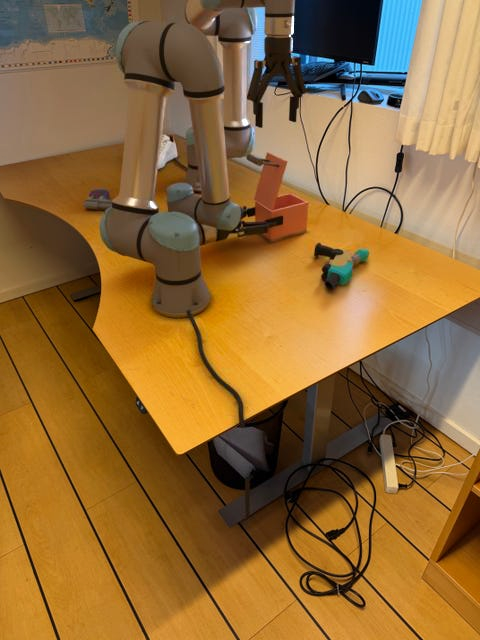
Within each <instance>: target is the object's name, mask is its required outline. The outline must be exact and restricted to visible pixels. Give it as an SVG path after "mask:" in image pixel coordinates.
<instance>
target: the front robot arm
mask: <svg viewBox="0 0 480 640" xmlns="http://www.w3.org/2000/svg"><path fill="white" fill-rule="evenodd" d="M115 59H116V62H117V63H118V64H117V67H118V68H119V70H120V72H122V74H124V77H123V83H124V84H125V86H126V87H127V89H128V90H129V95H128V105H127V114H126V115H127V116H126V124H125V134H124V145H123V155H122V163H121V164H122V165H121V174H120V183H119V184H120V185H119V194H118V195H117V196H115V198H113V199H111V201H112V207H110V208H108V209H107V210H104V214H102V216H101V218H100V220H99V234H100V238H101V241H102V242H103V244H104V245H105V246H106V248H107V249H108V250H110V251H112V252H113V253H117V254H118V255H120V256H123V257H128V258H132V259H135V260H139V261H141V262H145V263H149V264H150V265H153V268H154V274H155V275H154V276H155V281H154V284H153V290H152V294H151V305H152V308H153V310H154V311H155V312H156V313H157V314H159V315H160V316H163V317H167V318H171V319H183V318H185V319H186V318H188V319H189V321H190V323H191V326H193V330H194V332H195V335H196V338H197V346H198V352H199V355H200V358H201V360H202V362H203V364H204V366H205V367H206V369H207V370H208V372H209V373H210V374H211V376H212V377H213V378H214V379H215V380H216V382H218V383H219V384H220V385H221V386H222V387H223V388H225V389H226V390H227V391H228V392H229V393H230V394H231V395H232V396H233V397H234V398H235V400H236V403H237V407H238V411H237V412H238V421H239V427H240V428H241V429H244V428H245V427H246V424H245V417H244V416H245V415H244V403H243V400H242V398H241V396H240V395H239V393H238V392H237V390H235V389H234V387H232V386H231V385H229V384H228V382H226V381H225V380H223V378H222V377H220V375H219V374H218V373H217V372H216V371H215V370H214V368H213V366H212V364H210V362H209V360H208V359H207V356H206V354H205V352H204V348H203V339H202V334H201V332H200V329H199V327H198V325H197V323H196V320H195V318H194V316H196V315H199V314H201V313H202V312H204V311H205V310H207V308H208V307H209V306H210V303H211V294H210V290H209V288H208V286H207V284H206V281H205V278H204V277H203V275H202V262H201V261H202V259H201V247H202V246H206V245H208V244H212V243H215V242H220V241H224V240H227V239H228V237H229V236H230V235H232V234H233V235H234V234H236V235H237V238H243V237H246V236H256V235H260V234H264V233H268V228H272V227H275V226H279V225H283V216H279V217H275V218H271V219H267V220H265V222H255V221H245V220H243V219H245V218H246V217H247V218H251V217H255V206H253V207H249V208H248V207H247V206H246V205H243V206H240V205H239V204H238V203H235V202H233V201H231V192H230V181H229V171H228V159H227V158H226V146H225V135H224V124H223V118H224V111H223V103H222V101H223V100H222V98H223V96H224V93H225V85H224V76H223V66H222V65H221V61H220V58H219V56H218V54H217V51H216V50H215V48H214V46H213V44H212V42H211V41H210V40H209V38H208V37H207V35H204V33H202V32H201V31H200V30H199V29H198V28H196V27H195V26H193V25H191V24H188V23H187V22H181V21H179V22H168V21H153V20H141V21H133V22H131V23H128V24H127V25H126V26H125V27H123V29H122V30H121V32H120V33H119V35H118V38H117V40H116V45H115ZM176 83H180V85H181V88H182V93H183V97H184V98H185V99H186V100H188V103H189V104H188V105H189V111H190V119H191V127H193V134H194V142H195V149H196V156H197V164H198V171H199V178H200V186H201V193H200V194H201V195H197V194H194V193H195V192H194V191H193V188H192V186H191V185H189V184H187V183H185V182H176V183H172V184H171V185H168V187H167V188H166V207H167V210H166V211H160V207H159V205H157V203H156V201H155V195H156V185H157V180H158V179H157V178H158V171H159V169H158V163H159V155H160V147H161V138H162V134H163V129H164V122H165V121H164V120H165V114H166V106H167V105H166V104H167V99H168V98H169V97H171V96H172V95H173V94H174V93H175V92H174V91H175V86H176ZM250 477H251V476H244V488H245V489H244V509H245V510H244V511H245V513H244V514H245V518H247V519H248V518H250V516H251V513H250V512H251V511H250V509H251V508H250V504H251V502H250V501H251V499H250V497H251V496H250V495H251V489H250V488H251V478H250Z"/></svg>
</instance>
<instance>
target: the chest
mask: <svg viewBox="0 0 480 640" xmlns="http://www.w3.org/2000/svg"><path fill="white" fill-rule="evenodd" d="M254 207H255V216H254V222H265V220H267V219H271V218H275V217H279V216H283V225H279V226H275V227H272V228H268V233H264V234H259V236H261V237H263V239H266V240H267V241H268V242H269V243H274V242H278V241H280V240H285V239H287V238H291V237H295V236H298V235H301V234H305V233H307V225H308V211H309V202H308V201H306V200H305V199H303V198H301V197H300V196H297V195H296V194H294V193H292V192H289V193H284V194H280V195H277V199H276V202H275V206H274V209H273V210H270V209H268V208H267V207H265V206H263V205H262V204H260V203H259V202H257V201H254Z"/></svg>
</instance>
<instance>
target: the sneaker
mask: <svg viewBox="0 0 480 640" xmlns="http://www.w3.org/2000/svg"><path fill="white" fill-rule="evenodd" d="M178 156H179V155H178V149H177V144H176V140H175V136H174V135H173V134H164V133H162V138H161V147H160V155H159V163H158V170H160V169H162V168H164V167H165V166H166V164H167V163H168V162H170V161H172V160H174V158H176V159H177V157H178Z"/></svg>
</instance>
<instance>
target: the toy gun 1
mask: <svg viewBox="0 0 480 640" xmlns="http://www.w3.org/2000/svg"><path fill="white" fill-rule="evenodd" d="M110 194H111V193H110V189H109V188H94V189H93V190H91V191H90V192H89V193H88V198H86V199H84V201H85V202H84V204H83V206H82V207H84V208H85V209H88V210H96V211H97V210H98V211H106V210H107V209H108V208H110V207H112V199H110V196H111V195H110Z"/></svg>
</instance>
